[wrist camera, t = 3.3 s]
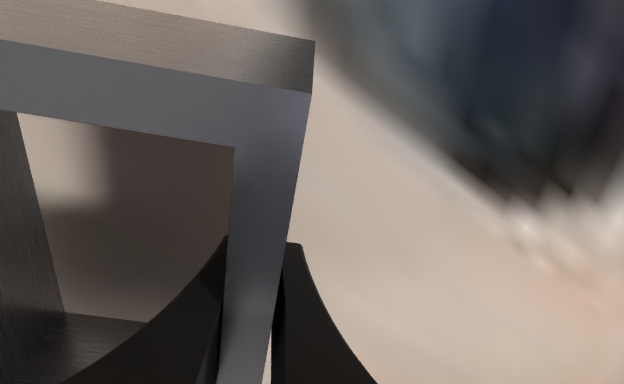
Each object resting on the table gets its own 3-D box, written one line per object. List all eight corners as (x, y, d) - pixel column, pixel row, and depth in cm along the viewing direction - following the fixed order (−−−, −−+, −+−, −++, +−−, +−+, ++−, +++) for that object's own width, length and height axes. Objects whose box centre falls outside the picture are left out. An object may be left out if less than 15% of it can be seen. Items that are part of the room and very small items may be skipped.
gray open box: (263, 354, 18) (245, 479, 13) (41, 327, 17) (-53, 449, 13) (315, 41, 11) (312, 93, 6) (-64, -29, 10) (-361, -25, 6)
